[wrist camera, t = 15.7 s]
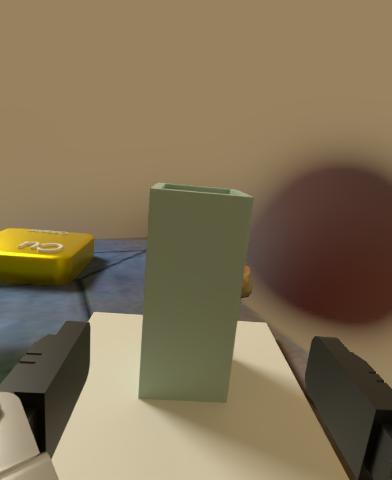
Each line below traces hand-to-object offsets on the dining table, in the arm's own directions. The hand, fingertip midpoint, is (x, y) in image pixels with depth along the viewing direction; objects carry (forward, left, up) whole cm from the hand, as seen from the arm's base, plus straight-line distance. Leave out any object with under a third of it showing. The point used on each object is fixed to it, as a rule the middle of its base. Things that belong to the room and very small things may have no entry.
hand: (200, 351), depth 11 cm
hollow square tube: (-8, +7, -9) cm, 14 cm away
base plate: (-8, +7, -10) cm, 15 cm away
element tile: (-43, +7, -11) cm, 45 cm away
